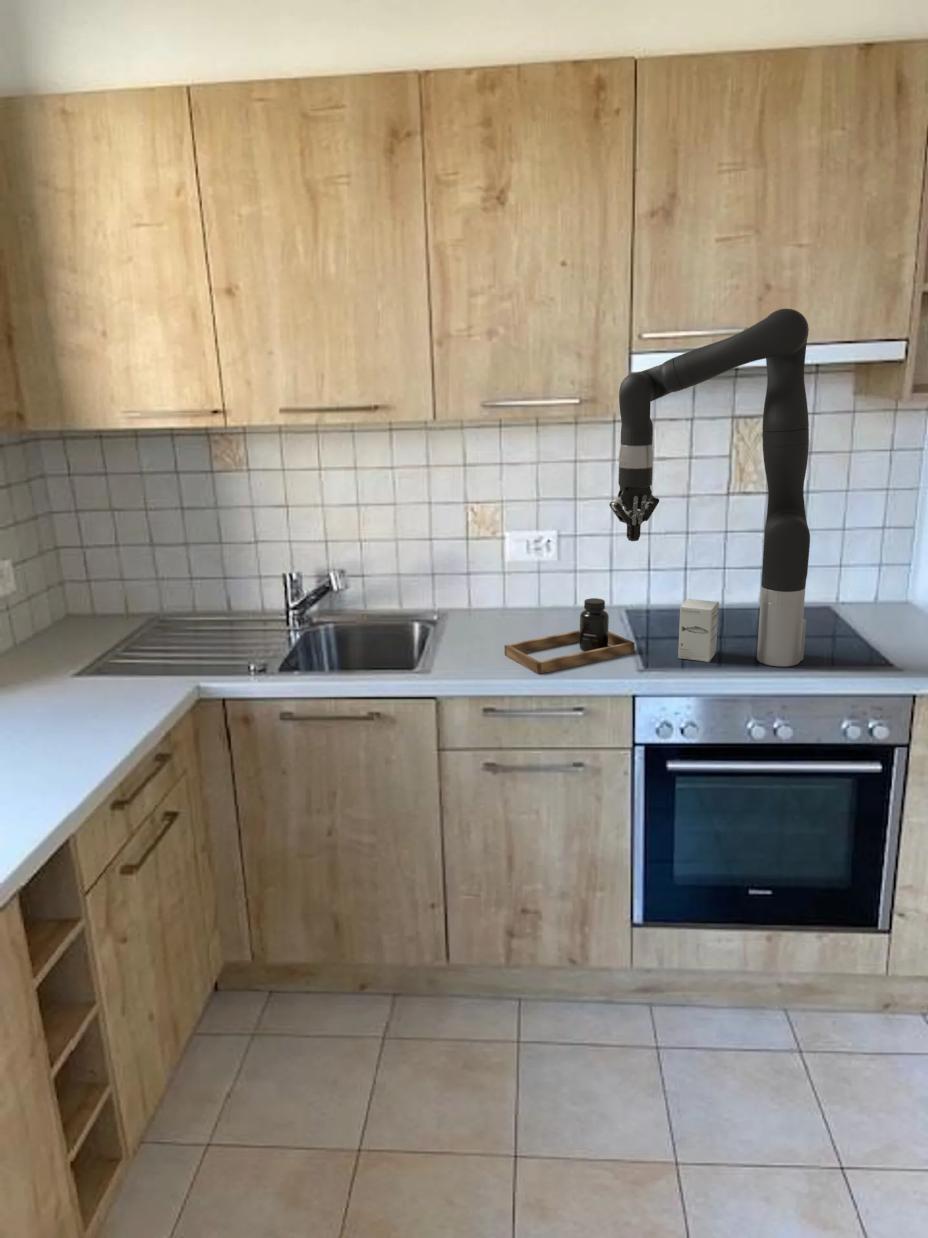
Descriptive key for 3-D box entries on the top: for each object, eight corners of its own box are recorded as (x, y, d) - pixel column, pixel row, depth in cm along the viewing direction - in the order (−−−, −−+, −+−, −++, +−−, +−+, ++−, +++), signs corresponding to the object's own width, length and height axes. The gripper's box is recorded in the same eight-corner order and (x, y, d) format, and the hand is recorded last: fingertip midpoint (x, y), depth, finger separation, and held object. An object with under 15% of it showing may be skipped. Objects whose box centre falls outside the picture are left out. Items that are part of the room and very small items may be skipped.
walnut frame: (597, 636, 224) (597, 626, 224) (634, 652, 212) (634, 642, 211) (504, 655, 213) (504, 645, 213) (537, 674, 200) (537, 663, 200)
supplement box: (677, 659, 206) (678, 606, 203) (685, 649, 213) (687, 597, 209) (709, 663, 203) (711, 609, 199) (717, 653, 209) (719, 600, 206)
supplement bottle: (584, 654, 212) (584, 605, 208) (576, 645, 218) (576, 598, 215) (612, 652, 213) (612, 603, 209) (603, 643, 219) (603, 595, 216)
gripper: (622, 469, 196) (620, 547, 201) (669, 463, 202) (666, 539, 207) (601, 465, 202) (600, 541, 207) (648, 460, 208) (645, 534, 213)
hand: (633, 540), depth 207 cm, fingers closed
